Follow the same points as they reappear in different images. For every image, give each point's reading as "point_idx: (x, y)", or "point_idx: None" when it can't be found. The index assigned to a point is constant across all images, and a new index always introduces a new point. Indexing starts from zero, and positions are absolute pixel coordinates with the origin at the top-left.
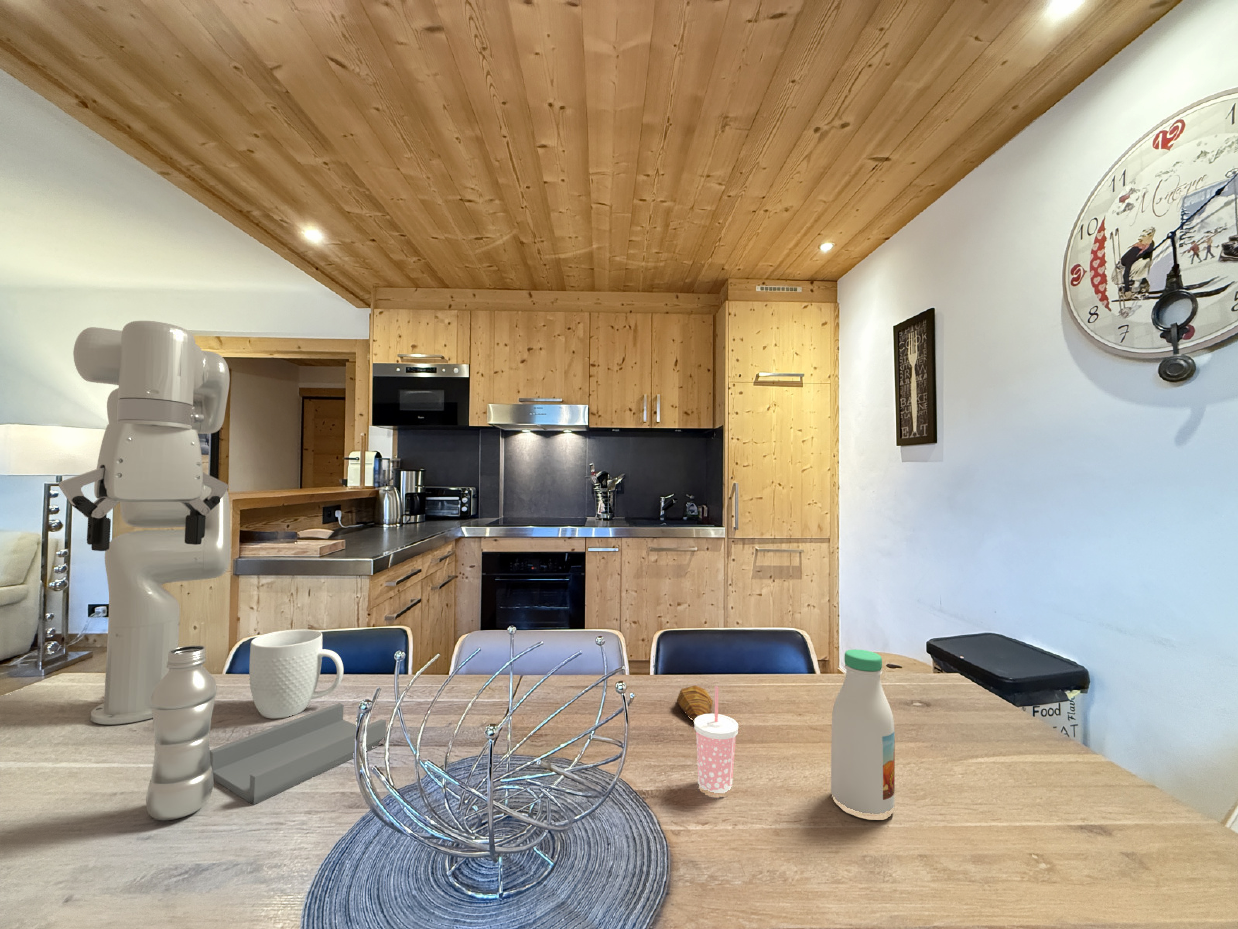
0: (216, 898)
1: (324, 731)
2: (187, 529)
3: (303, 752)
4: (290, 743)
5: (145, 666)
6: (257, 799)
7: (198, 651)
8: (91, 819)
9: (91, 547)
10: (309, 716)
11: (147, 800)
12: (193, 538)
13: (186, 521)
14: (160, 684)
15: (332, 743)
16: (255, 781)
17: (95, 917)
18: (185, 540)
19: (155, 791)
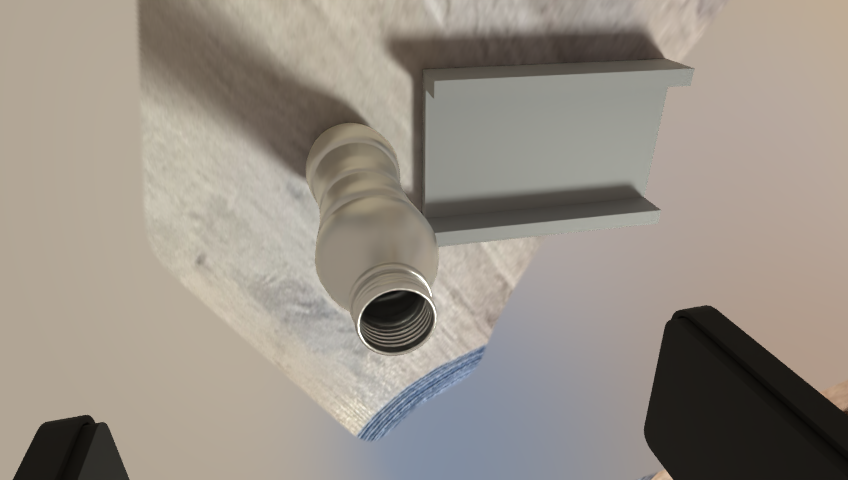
0: (316, 366)
1: (617, 100)
2: (741, 420)
3: (516, 226)
4: (556, 97)
5: None
6: None
7: (409, 351)
8: (247, 62)
9: (40, 428)
10: (621, 85)
11: (306, 174)
12: (667, 450)
13: (808, 465)
14: (332, 279)
15: (559, 232)
16: None
17: (220, 313)
18: (680, 335)
19: (313, 196)
